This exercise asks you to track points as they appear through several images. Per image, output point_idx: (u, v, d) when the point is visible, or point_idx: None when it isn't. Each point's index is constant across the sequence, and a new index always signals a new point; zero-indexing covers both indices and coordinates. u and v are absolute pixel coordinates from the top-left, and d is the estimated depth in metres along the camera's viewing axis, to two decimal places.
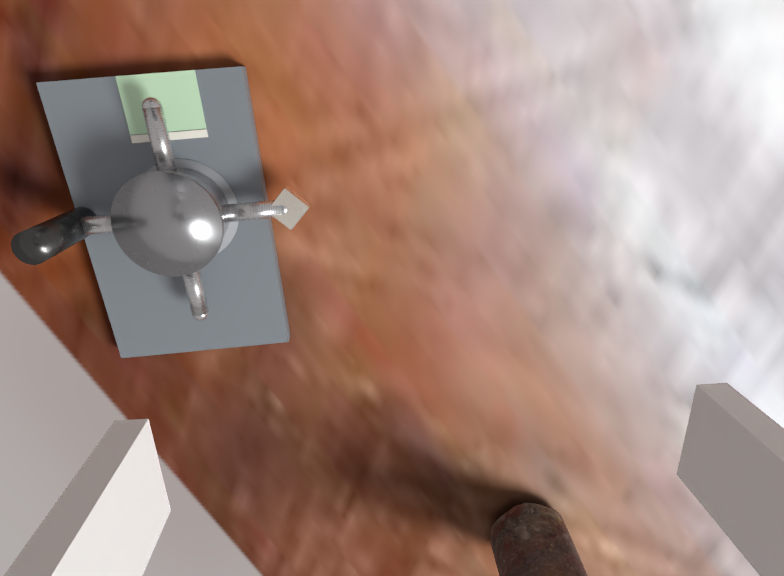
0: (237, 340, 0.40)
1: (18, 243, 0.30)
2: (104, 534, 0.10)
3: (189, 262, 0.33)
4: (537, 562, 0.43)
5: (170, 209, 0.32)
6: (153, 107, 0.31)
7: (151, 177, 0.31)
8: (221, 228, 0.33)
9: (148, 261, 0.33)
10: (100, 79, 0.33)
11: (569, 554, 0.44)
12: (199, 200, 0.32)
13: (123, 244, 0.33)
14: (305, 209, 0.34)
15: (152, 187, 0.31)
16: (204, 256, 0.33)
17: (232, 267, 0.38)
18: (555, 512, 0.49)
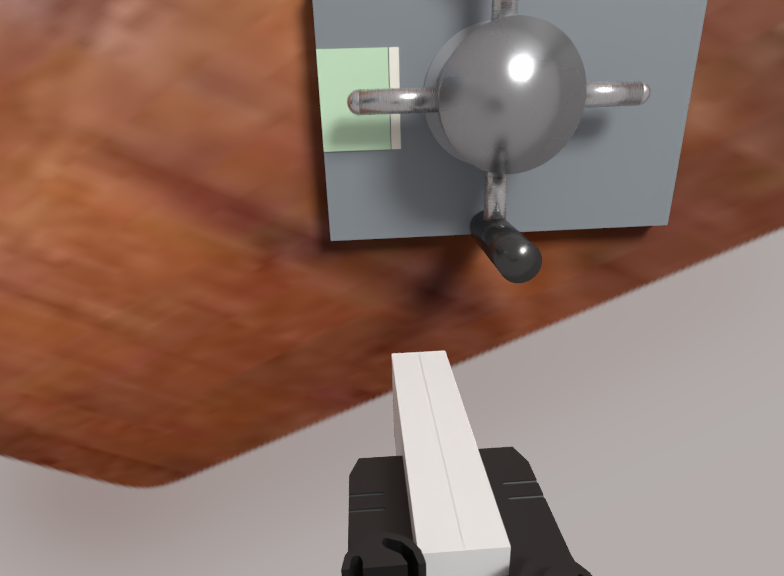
0: (687, 57, 0.27)
1: (512, 273, 0.24)
2: None
3: (569, 77, 0.23)
4: None
5: (491, 89, 0.23)
6: (358, 97, 0.25)
7: (446, 106, 0.23)
8: (528, 17, 0.22)
9: (557, 136, 0.24)
10: (327, 170, 0.28)
11: None
12: (484, 43, 0.22)
13: (529, 164, 0.25)
14: None
15: (459, 107, 0.23)
16: (564, 52, 0.23)
17: (577, 45, 0.27)
18: None
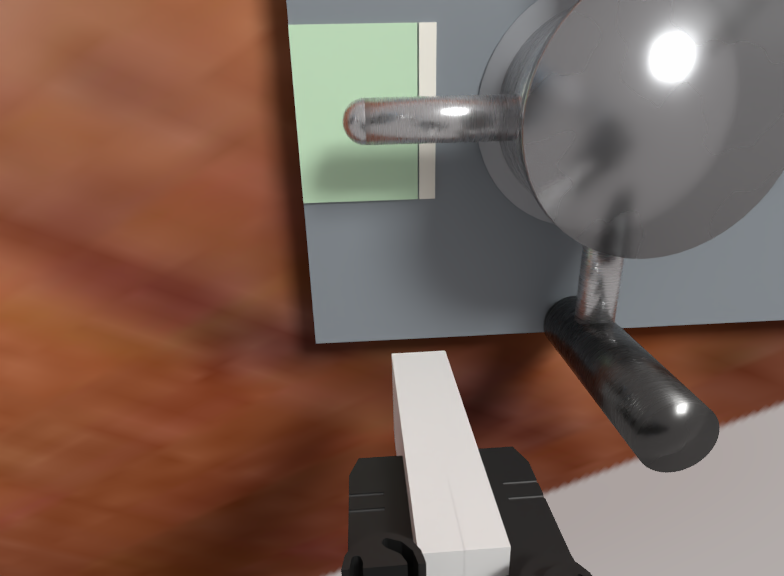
0: None
1: (659, 457, 0.12)
2: None
3: (781, 78, 0.12)
4: None
5: (628, 100, 0.12)
6: (364, 113, 0.13)
7: (537, 133, 0.12)
8: None
9: (742, 190, 0.13)
10: (310, 233, 0.17)
11: None
12: (623, 7, 0.11)
13: (683, 240, 0.13)
14: None
15: (563, 136, 0.12)
16: (779, 28, 0.11)
17: None
18: None
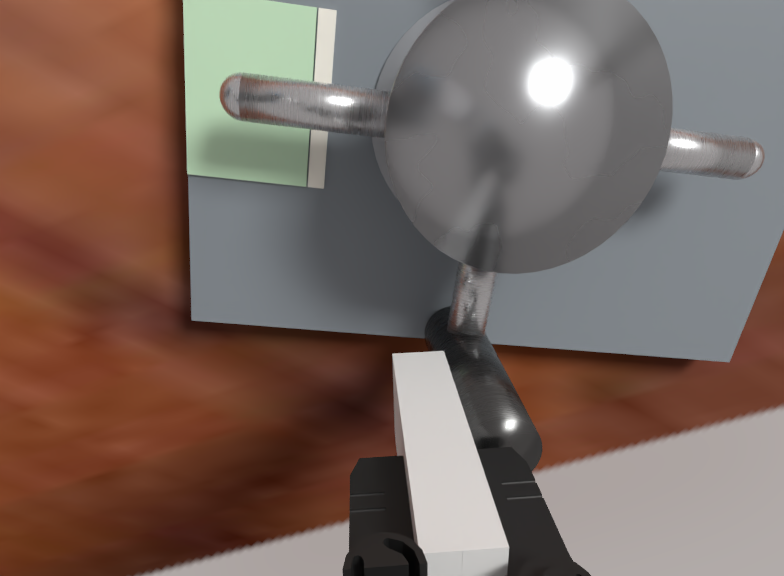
0: None
1: None
2: None
3: (641, 112, 0.12)
4: None
5: (491, 111, 0.12)
6: (239, 87, 0.13)
7: (399, 131, 0.12)
8: None
9: (599, 218, 0.13)
10: (192, 205, 0.16)
11: None
12: (489, 17, 0.11)
13: (540, 260, 0.13)
14: None
15: (424, 138, 0.12)
16: (642, 63, 0.12)
17: None
18: None
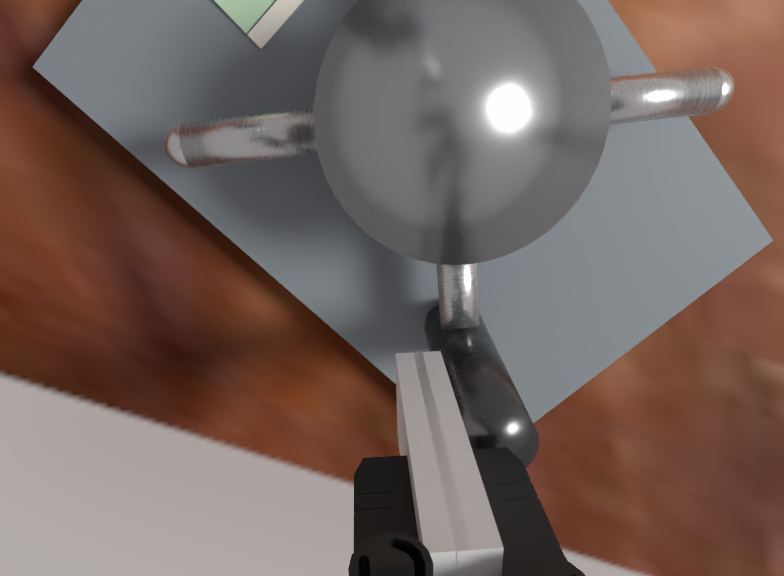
0: (668, 303, 0.18)
1: None
2: None
3: (574, 72, 0.11)
4: None
5: (417, 107, 0.12)
6: (180, 137, 0.13)
7: (331, 147, 0.12)
8: None
9: (557, 188, 0.12)
10: None
11: None
12: (391, 15, 0.11)
13: (506, 243, 0.13)
14: None
15: (357, 148, 0.12)
16: (561, 22, 0.11)
17: None
18: None
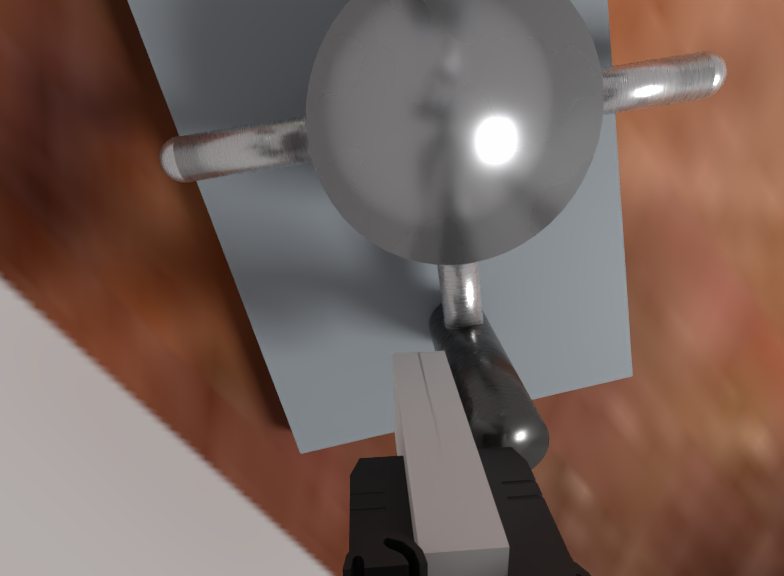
0: (529, 387, 0.19)
1: None
2: None
3: (564, 66, 0.11)
4: None
5: (409, 110, 0.12)
6: (175, 152, 0.13)
7: (325, 154, 0.12)
8: None
9: (554, 182, 0.12)
10: None
11: None
12: (378, 19, 0.11)
13: (505, 240, 0.13)
14: None
15: (351, 154, 0.12)
16: (549, 16, 0.11)
17: None
18: None
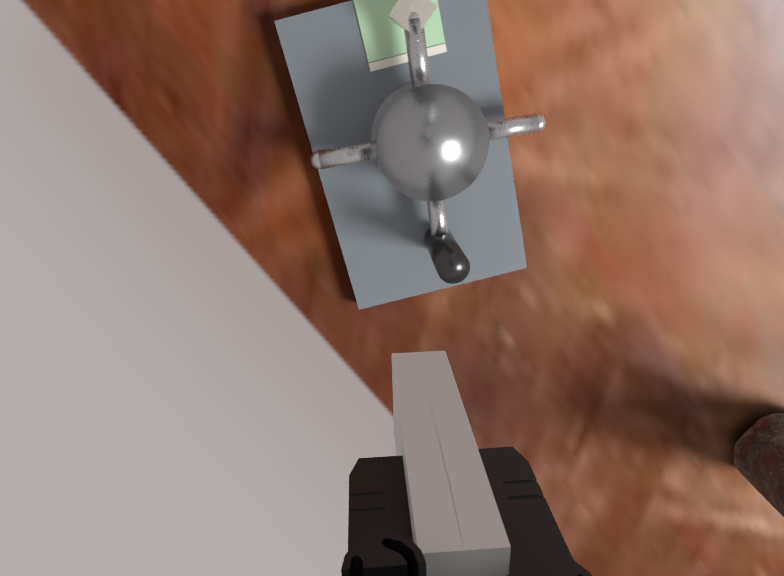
0: (475, 273, 0.38)
1: (448, 277, 0.31)
2: None
3: (473, 123, 0.30)
4: None
5: (415, 140, 0.31)
6: (318, 156, 0.32)
7: (383, 157, 0.31)
8: (434, 84, 0.30)
9: (472, 167, 0.31)
10: (338, 6, 0.31)
11: None
12: (404, 108, 0.30)
13: (454, 191, 0.32)
14: None
15: (393, 157, 0.31)
16: (466, 105, 0.30)
17: (470, 193, 0.36)
18: None
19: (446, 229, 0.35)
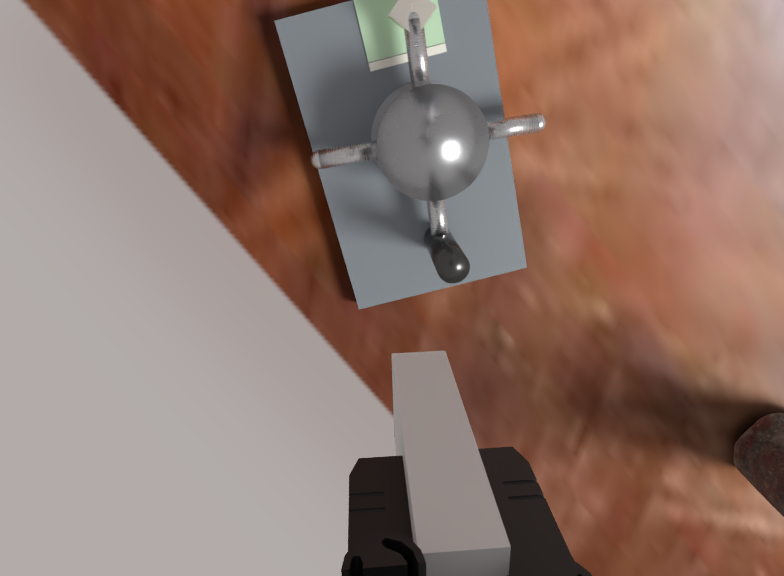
0: (475, 273, 0.38)
1: (448, 276, 0.31)
2: None
3: (473, 123, 0.30)
4: None
5: (415, 140, 0.31)
6: (318, 156, 0.32)
7: (383, 157, 0.31)
8: (434, 84, 0.30)
9: (472, 167, 0.31)
10: (338, 6, 0.31)
11: None
12: (404, 108, 0.30)
13: (454, 190, 0.32)
14: None
15: (393, 156, 0.31)
16: (466, 105, 0.30)
17: (470, 193, 0.36)
18: None
19: (446, 229, 0.35)
